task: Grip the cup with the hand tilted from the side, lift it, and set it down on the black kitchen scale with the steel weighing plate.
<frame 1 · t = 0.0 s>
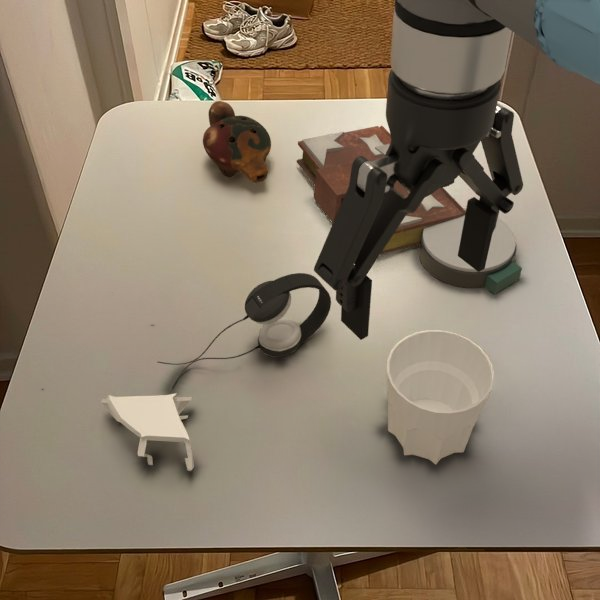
hand: (415, 294, 65), 19 cm above the table, tool pointing down, fingers open, 13 cm apart
scale: (465, 255, 95), on the table
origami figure: (154, 437, 77), on the table
decorative turtle: (239, 167, 110), on the table
book: (374, 200, 104), on the table, touching scale
cup: (428, 430, 77), on the table
headphones: (249, 360, 84), on the table
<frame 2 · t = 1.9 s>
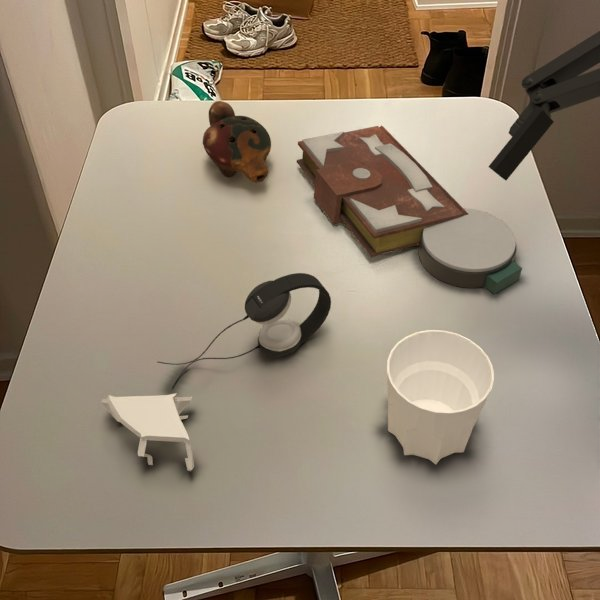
hand: (552, 214, 63), 25 cm above the table, tool tilted 45°, fingers open, 13 cm apart
nothing on the table moved.
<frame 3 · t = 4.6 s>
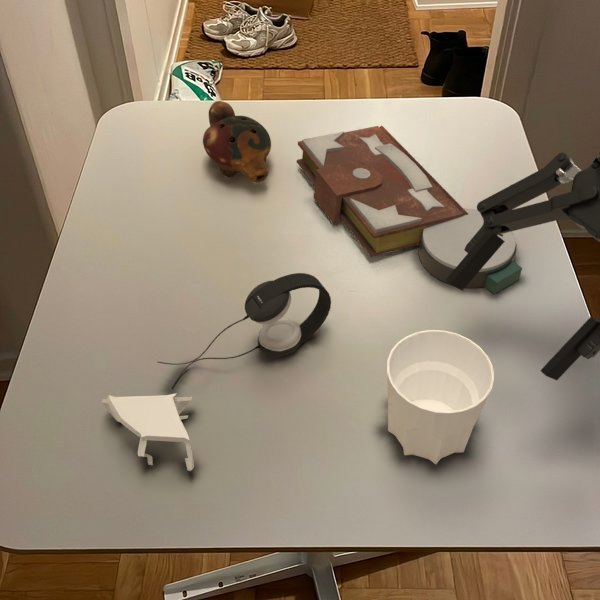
hand: (498, 328, 71), 12 cm above the table, tool tilted 45°, fingers open, 13 cm apart
nothing on the table moved.
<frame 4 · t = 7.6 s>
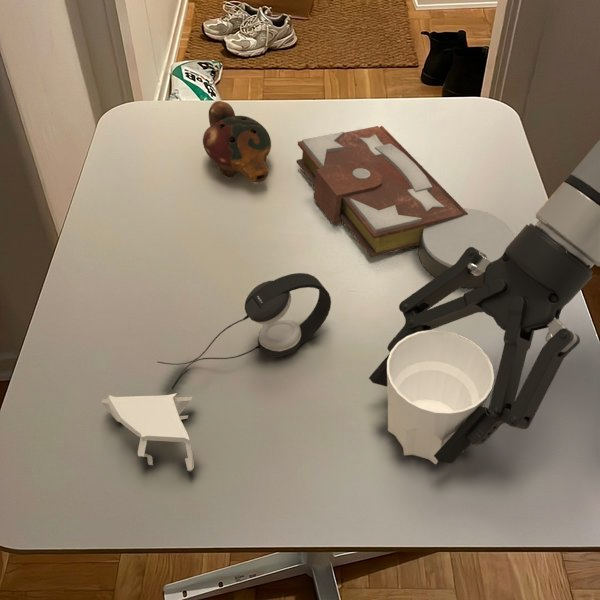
hand: (408, 419, 73), 4 cm above the table, tool tilted 45°, fingers closed on cup, 10 cm apart
cup: (428, 430, 77), on the table, touching gripper
everything else where it was.
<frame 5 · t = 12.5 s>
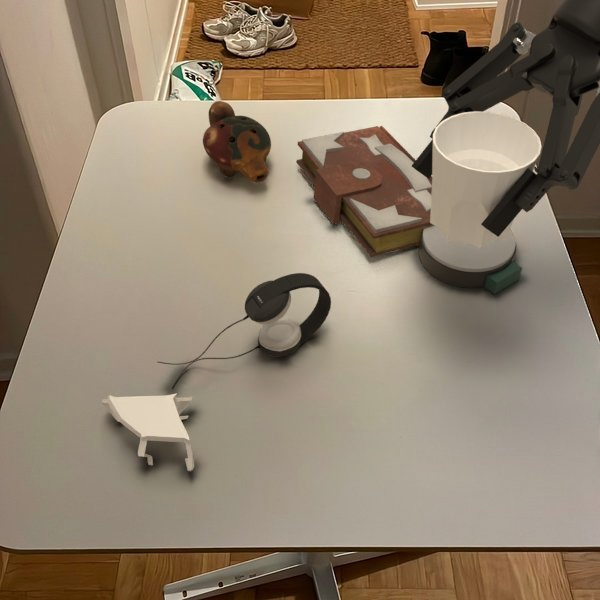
hand: (453, 200, 73), 19 cm above the table, tool tilted 45°, fingers closed on cup, 10 cm apart
cup: (470, 222, 77), point 15 cm above the table, touching gripper
everything else where it was.
when the fingers open (8 cm above the table, at t = 17.5 s): cup stays where it is, resting on scale.
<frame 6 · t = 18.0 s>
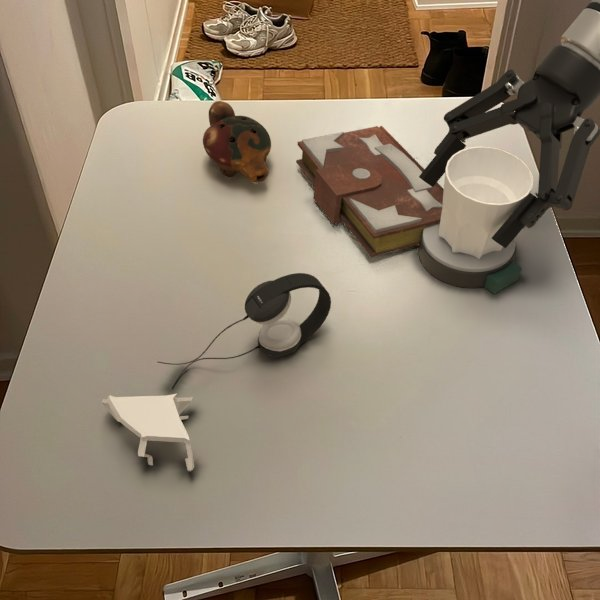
hand: (460, 211, 89), 8 cm above the table, tool tilted 45°, fingers open, 13 cm apart
cup: (471, 235, 93), point 3 cm above the table, touching scale
everything else where it was.
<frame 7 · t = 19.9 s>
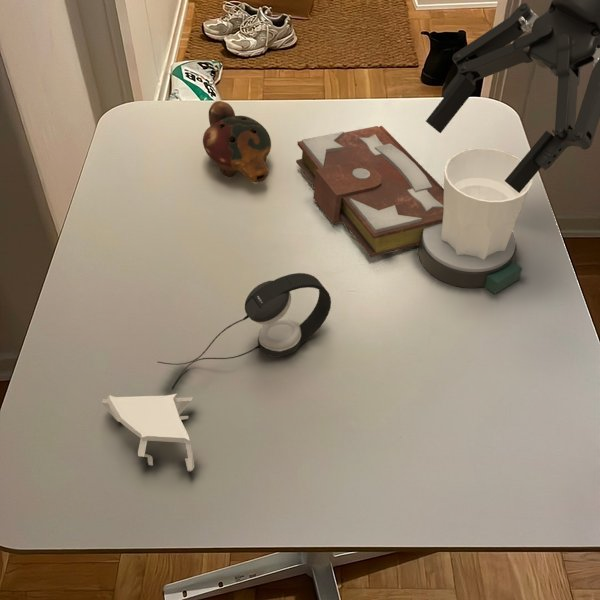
hand: (470, 156, 83), 16 cm above the table, tool tilted 45°, fingers open, 13 cm apart
book: (373, 200, 104), on the table, touching cup, scale
cup: (473, 237, 93), point 3 cm above the table, touching book, scale
everything else where it was.
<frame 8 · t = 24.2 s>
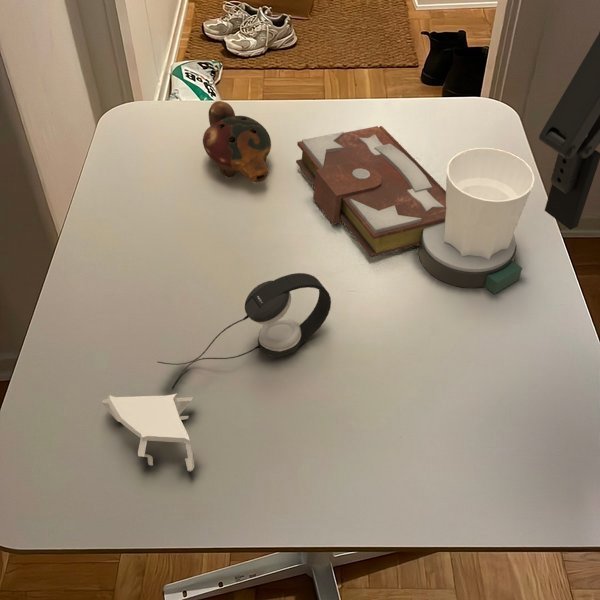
book: (373, 201, 104), on the table, touching scale
cup: (475, 237, 93), point 3 cm above the table
everything else where it was.
at the end: cup inside the target area on the scale (0.9 cm from its centre), point 3.1 cm above the scale's base; cup tilted 2°; the gripper is holding nothing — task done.
